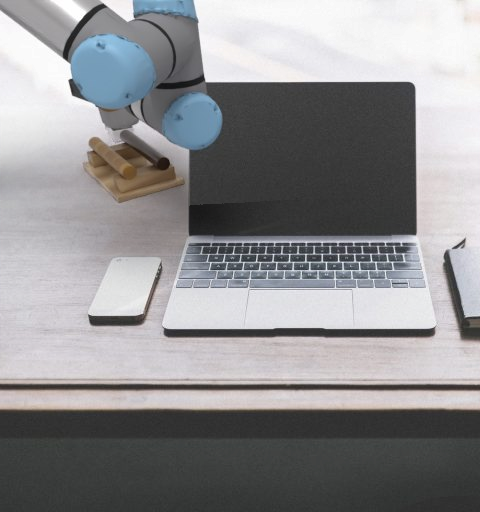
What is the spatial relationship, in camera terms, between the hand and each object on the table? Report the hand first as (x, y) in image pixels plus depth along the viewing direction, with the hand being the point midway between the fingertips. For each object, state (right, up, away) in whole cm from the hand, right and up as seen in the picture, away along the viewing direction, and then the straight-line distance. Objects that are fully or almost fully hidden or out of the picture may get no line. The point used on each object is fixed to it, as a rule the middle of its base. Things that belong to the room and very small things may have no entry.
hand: (102, 69), depth 107 cm
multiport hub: (-5, -6, +26) cm, 27 cm away
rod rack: (+3, -17, +6) cm, 19 cm away
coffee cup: (+3, -9, +1) cm, 10 cm away
